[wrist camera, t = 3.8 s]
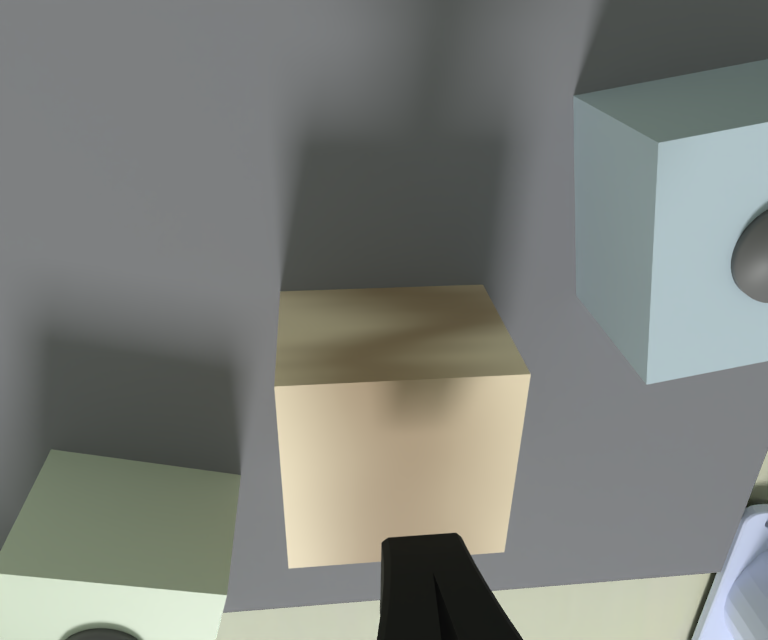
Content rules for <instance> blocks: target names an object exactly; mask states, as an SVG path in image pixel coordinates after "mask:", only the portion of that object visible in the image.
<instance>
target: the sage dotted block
mask: <svg viewBox="0 0 768 640" xmlns="http://www.w3.org/2000/svg"><path fill="white" fill-rule="evenodd" d="M240 478H241V475H237V474H230V473H222V472H215V471H207V470H200V469H193V468H185V467H178V466H171V465H163V464H156V463H148V462H141V461H134V460H126V459H119V458H112V457H104V456H97V455H89V454H82V453H75V452H67V451H60V450H53V449H51V450H50V452H49V454H48V456H47V458H46V461H45V463H44V465H43V467H42V469H41V471H40V473H39V475H38V477H37V479H36V481H35V483H34V485H33V487H32V489H31V491H30V493H29V495H28V497H27V499H26V501H25V503H24V505H23V507H22V509H21V511H20V513H19V515H18V517H17V519H16V521H15V523H14V525H13V527H12V529H11V531H10V533H9V535H8V537H7V539H6V541H5V543H4V545H3V547H2V549H1V551H0V640H216V637H217V633H218V629H219V625H220V621H221V617H222V613H223V609H224V605H225V602H226V598H227V591H228V583H229V574H230V565H231V557H232V548H233V539H234V531H235V522H236V513H237V504H238V496H239V487H240Z"/></svg>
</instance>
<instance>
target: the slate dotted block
mask: <svg viewBox="0 0 768 640" xmlns="http://www.w3.org/2000/svg"><path fill="white" fill-rule="evenodd" d="M573 108H574V177H575V247H576V296H577V297H578V298H579V299H580V301H581V302H582V303H583V305H584V306H585V307H586V308H587V310H588V311H589V312H590V313H591V315H592V316H593V317H594V319H595V320H596V321H597V322H598V324H599V325H600V326H601V327H602V329H603V330H604V331H605V333H606V334H607V335H608V336H609V338H610V339H611V340H612V342H613V343H614V344H615V345H616V347H617V348H618V349H619V350H620V352H621V353H622V354H623V356H624V357H625V358H626V359H627V361H628V362H629V363H630V364H631V366H632V367H633V368H634V370H635V371H636V372H637V373H638V375H639V376H640V377H641V378H642V380H643V381H644V382H645V384H646V385H648V384H653V383H658V382H663V381H668V380H673V379H678V378H683V377H689V376H694V375H699V374H704V373H709V372H714V371H719V370H724V369H729V368H735V367H740V366H745V365H750V364H755V363H760V362H765V361H768V59H765V60H760V61H755V62H749V63H744V64H739V65H734V66H728V67H723V68H718V69H712V70H707V71H702V72H696V73H691V74H686V75H681V76H675V77H670V78H665V79H659V80H654V81H649V82H643V83H638V84H633V85H628V86H622V87H617V88H612V89H606V90H601V91H596V92H590V93H585V94H580V95H575V96H573Z"/></svg>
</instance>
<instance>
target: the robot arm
mask: <svg viewBox="0 0 768 640" xmlns="http://www.w3.org/2000/svg"><path fill="white" fill-rule="evenodd" d="M377 640H523V639H522V637H521V636H520V634H519V633H518V631H517V630H516V628H515V627H514V625H513V624H512V622H511V621H510V619H509V618H508V616H507V615H506V613H505V612H504V610H503V609H502V607H501V606H500V604H499V602H498V601H497V599H496V598H495V596H494V594H493V593H492V591H491V589H490V588H489V586H488V584H487V583H486V581H485V580H484V578H483V576H482V574H481V573H480V571H479V569H478V567H477V566H476V564H475V562H474V560H473V558H472V556H471V555H470V553H469V551H468V549H467V547H466V545H465V543H464V541H463V539H462V537H461V536H460V535H458V534H457V533H443V534H429V535H416V536H402V537H388V538H387V539H385V540H384V541H383V542H382V543H381V590H380V623H379V629H378V636H377ZM692 640H768V504H758V505H751V506H749V507H747V508H745V510H744V513H743V516H742V518H741V521H740V523H739V526H738V529H737V531H736V534H735V536H734V539H733V542H732V544H731V547H730V549H729V552H728V555H727V557H726V560H725V562H724V565H723V568H722V570H721V572H717V574H716V576H715V579H714V582H713V584H712V587H711V590H710V592H709V595H708V597H707V600H706V603H705V605H704V608H703V611H702V613H701V616H700V618H699V621H698V624H697V626H696V629H695V632H694V634H693V637H692Z"/></svg>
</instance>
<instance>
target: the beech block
mask: <svg viewBox="0 0 768 640" xmlns="http://www.w3.org/2000/svg"><path fill="white" fill-rule="evenodd" d="M530 377H531V374H530V372H529V370H528V368H527V366H526V364H525V362H524V360H523V359H522V357H521V355H520V353H519V351H518V349H517V347H516V345H515V344H514V342H513V340H512V338H511V336H510V334H509V332H508V331H507V329H506V327H505V325H504V323H503V321H502V319H501V317H500V316H499V314H498V312H497V310H496V308H495V306H494V304H493V302H492V301H491V299H490V297H489V295H488V293H487V291H486V289H485V287H484V286H483V285H454V286H425V287H395V288H366V289H336V290H307V291H280V303H279V319H278V335H277V351H276V367H275V383H274V390H275V402H276V415H277V428H278V441H279V453H280V466H281V479H282V491H283V504H284V517H285V530H286V542H287V555H288V568H303V567H316V566H329V565H342V564H356V563H369V562H381V543H382V542H383V541H384V540H385V539H387V538H388V537H402V536H416V535H429V534H443V533H457V534H458V535H460V536H461V537H462V539H463V541H464V543H465V545H466V547H467V549H468V551H469V553H470V555H474V554H488V553H501V552H504V551H505V544H506V538H507V531H508V524H509V518H510V511H511V504H512V497H513V491H514V484H515V477H516V471H517V464H518V457H519V450H520V444H521V437H522V430H523V424H524V417H525V410H526V403H527V397H528V390H529V383H530Z"/></svg>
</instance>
